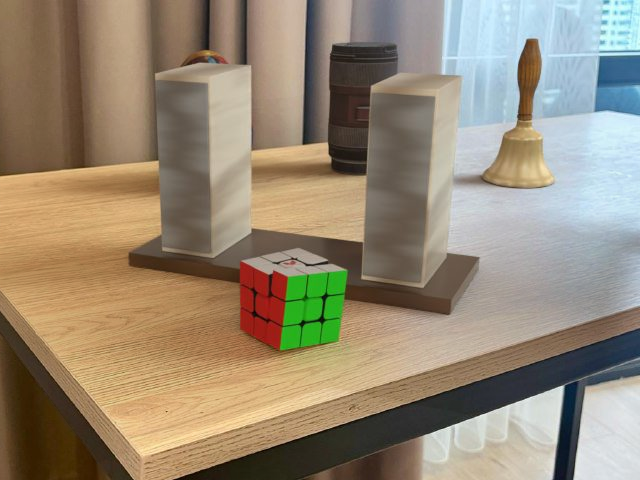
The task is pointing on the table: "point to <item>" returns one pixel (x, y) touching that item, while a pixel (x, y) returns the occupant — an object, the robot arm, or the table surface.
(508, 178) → the hand bell
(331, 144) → the camera lens
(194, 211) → the book rack
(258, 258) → the puzzle toy
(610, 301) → the table surface
